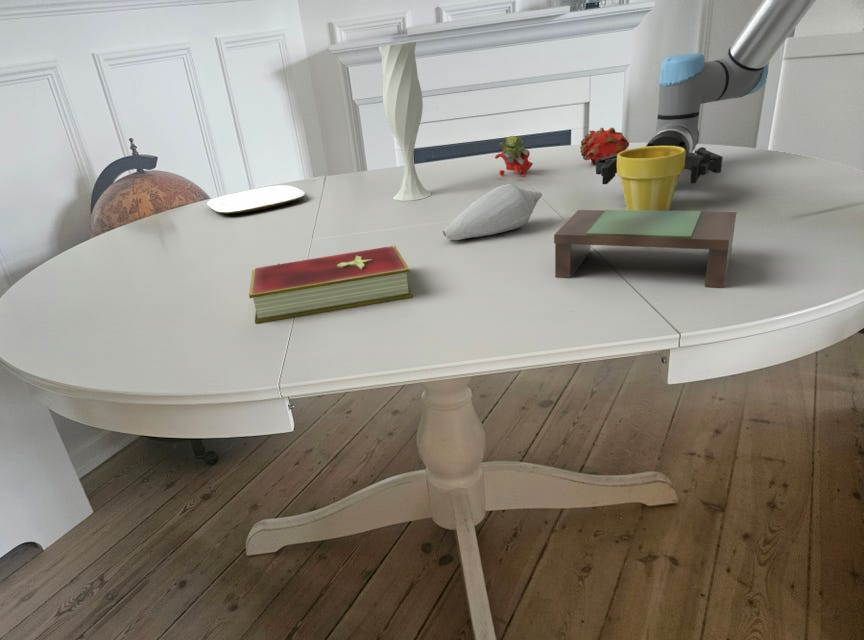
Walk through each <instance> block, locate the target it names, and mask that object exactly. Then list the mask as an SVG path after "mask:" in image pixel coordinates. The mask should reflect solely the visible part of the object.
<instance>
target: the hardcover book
mask: <svg viewBox="0 0 864 640" xmlns="http://www.w3.org/2000/svg"><path fill="white" fill-rule="evenodd" d="M410 272H411V270H410V267H409V265H407V262H406V261H405V259H404V258H403V256H402V255H401V252H400V251H399V250H398V248H397V246H396V245H390V246H389V245H388V246H384V247H378V248H371V249H365V250H358V251H352V252H347V253H340V254H333V255H328V256H322V257H317V258H316V257H315V258H310V259H303V260H296V261H291V262H285V263H279V264H272V265H266V266H260V267H252V270H251V277H250V283H249V284H250V286H249V293H248V296H249V297H248V298H249V299H253V304H254V308H255V315H254V323H255V324H259V323H260V324H261V323H262V324H263V323H268V322H272V321H278V320H285V319H290V318H296V317H302V316H308V315H314V314H321V313H326V312H333V311H337V310H344V309H351V308H355V307H361V306H367V305H374V304H379V303H385V302H390V301H396V300H398V301H399V300H403V299H404V300H405V299H409V298H413V293H412V291H411V289H410V287H409V284H408V283H409V282H408V275H407V274H408V273H410Z"/></svg>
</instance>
